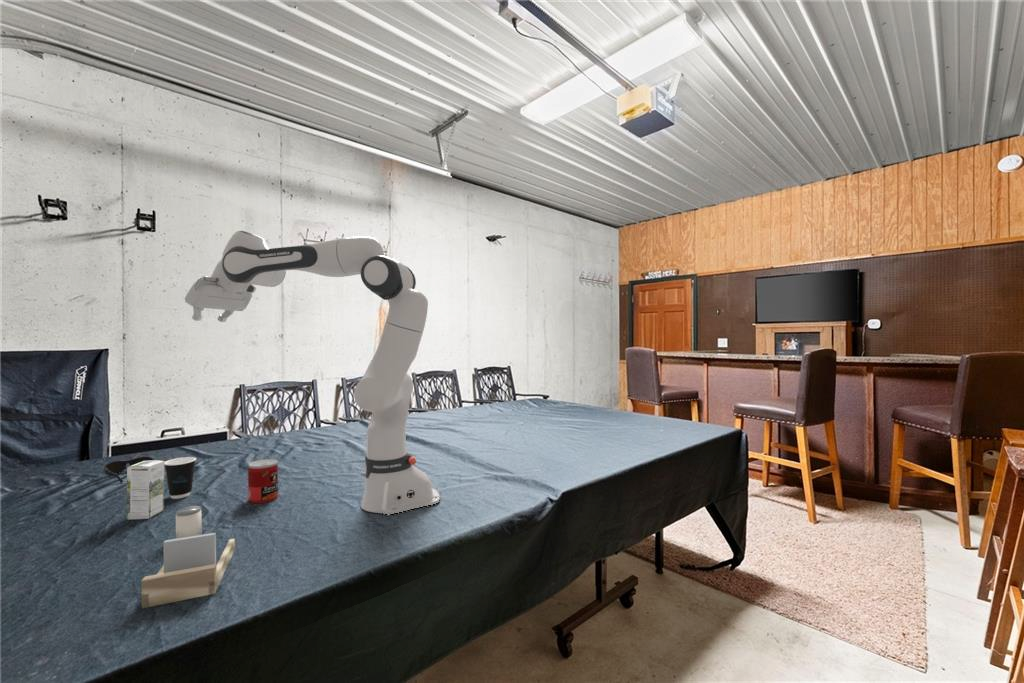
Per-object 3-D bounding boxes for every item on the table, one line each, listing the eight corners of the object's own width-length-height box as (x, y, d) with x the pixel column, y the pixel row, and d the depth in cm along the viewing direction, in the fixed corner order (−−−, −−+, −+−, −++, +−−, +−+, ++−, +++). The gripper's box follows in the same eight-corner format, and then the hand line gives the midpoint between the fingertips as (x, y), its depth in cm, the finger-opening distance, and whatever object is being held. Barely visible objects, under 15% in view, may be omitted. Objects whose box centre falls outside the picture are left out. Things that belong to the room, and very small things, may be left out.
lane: (176, 559, 93) (176, 536, 93) (234, 549, 98) (234, 527, 98) (141, 608, 76) (141, 580, 76) (214, 593, 81) (214, 567, 81)
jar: (204, 532, 107) (203, 504, 107) (198, 540, 102) (198, 511, 102) (179, 535, 105) (179, 507, 105) (172, 544, 100) (172, 515, 100)
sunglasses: (151, 467, 161) (150, 454, 161) (164, 475, 152) (164, 461, 152) (102, 477, 150) (101, 463, 150) (113, 486, 141) (113, 471, 141)
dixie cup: (176, 502, 126) (175, 465, 126) (157, 499, 129) (157, 462, 129) (202, 492, 134) (202, 458, 134) (184, 490, 136) (184, 456, 136)
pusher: (165, 580, 84) (165, 540, 84) (216, 571, 87) (215, 532, 87) (163, 583, 83) (163, 542, 83) (215, 573, 86) (214, 534, 86)
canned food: (265, 504, 124) (264, 467, 124) (241, 502, 126) (241, 465, 126) (284, 495, 132) (283, 459, 132) (261, 493, 133) (261, 458, 133)
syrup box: (142, 511, 119) (142, 460, 119) (165, 510, 120) (164, 459, 120) (126, 520, 114) (125, 466, 114) (149, 519, 114) (149, 465, 114)
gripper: (209, 280, 118) (188, 324, 119) (260, 289, 138) (241, 326, 139) (191, 270, 119) (170, 313, 119) (244, 280, 139) (225, 317, 140)
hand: (208, 320), depth 129 cm, fingers open, 8 cm apart
